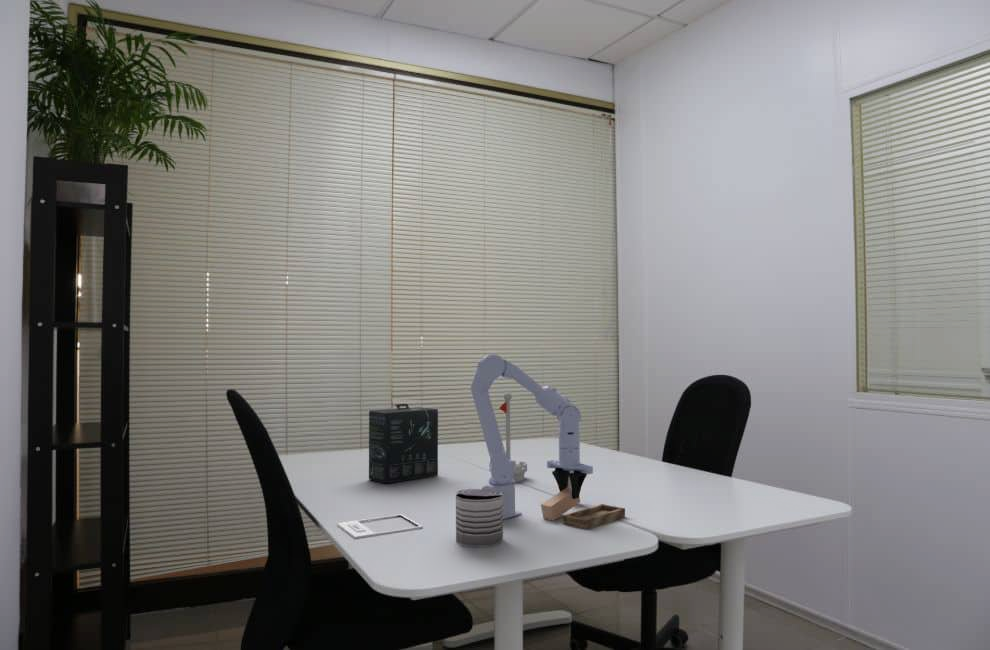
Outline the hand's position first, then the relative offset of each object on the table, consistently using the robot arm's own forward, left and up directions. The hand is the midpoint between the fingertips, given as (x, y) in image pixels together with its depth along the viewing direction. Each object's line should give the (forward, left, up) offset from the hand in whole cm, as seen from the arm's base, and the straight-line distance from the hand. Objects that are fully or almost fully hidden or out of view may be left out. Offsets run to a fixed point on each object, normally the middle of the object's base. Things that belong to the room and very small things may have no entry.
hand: (569, 497), depth 188 cm
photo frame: (-44, +27, -5) cm, 52 cm away
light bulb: (+10, +8, -5) cm, 14 cm away
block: (-3, 0, -3) cm, 4 cm away
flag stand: (+23, +45, -5) cm, 51 cm away
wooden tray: (-1, -10, -4) cm, 11 cm away
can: (-35, -1, -5) cm, 35 cm away
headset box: (0, +74, -5) cm, 75 cm away
